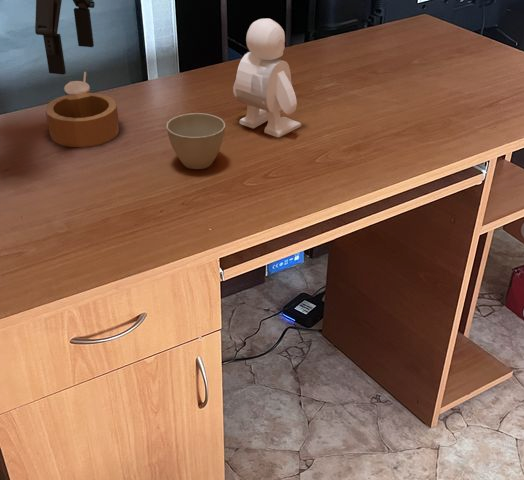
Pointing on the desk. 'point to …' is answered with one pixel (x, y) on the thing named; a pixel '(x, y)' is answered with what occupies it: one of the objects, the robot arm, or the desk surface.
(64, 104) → the tape
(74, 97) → the milkshake
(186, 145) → the flower pot
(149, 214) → the desk surface
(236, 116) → the desk surface
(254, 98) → the toy robot
